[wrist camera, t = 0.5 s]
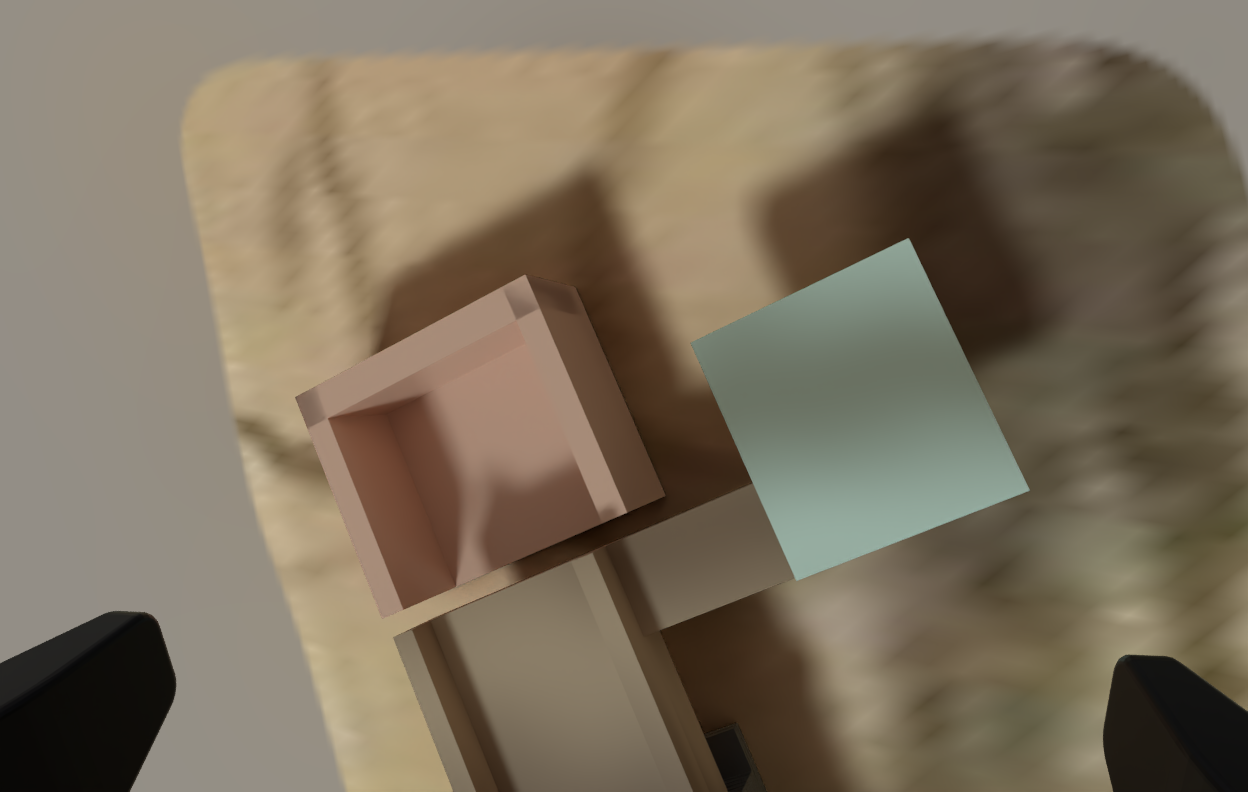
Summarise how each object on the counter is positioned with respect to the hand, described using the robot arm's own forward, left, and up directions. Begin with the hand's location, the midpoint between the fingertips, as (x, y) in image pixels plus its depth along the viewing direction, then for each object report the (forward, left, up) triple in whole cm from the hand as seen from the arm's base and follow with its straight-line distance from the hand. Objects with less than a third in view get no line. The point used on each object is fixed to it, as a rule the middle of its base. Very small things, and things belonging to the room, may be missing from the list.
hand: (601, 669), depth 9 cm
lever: (-2, +4, -11) cm, 12 cm away
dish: (+6, +4, -14) cm, 15 cm away
